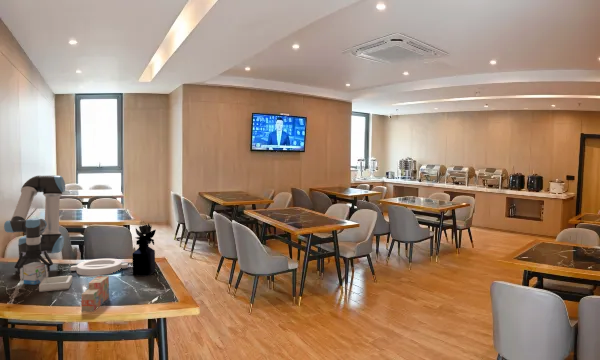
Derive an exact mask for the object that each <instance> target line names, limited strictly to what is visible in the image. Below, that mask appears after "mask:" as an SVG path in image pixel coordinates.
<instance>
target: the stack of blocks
mask: <svg viewBox="0 0 600 360" xmlns="http://www.w3.org/2000/svg"><path fill="white" fill-rule="evenodd" d="M109 298H110V283H109V275H107V276H106V275H105V276H104V275H99V276H96V277H94V278H93V279H92V280H90V281H89V282H88V289H86V290H85V291H83V292H82V293H81V300H80V301H81V303H80V305H81V306H80V307H81V309H80V310H81V312H82V311H87V312H95V311H96V310H97V309H98V308H99V307H100V306H101V305H102V304H104V303H105V302H106V301H107V300H108V299H109ZM97 307H98V308H97ZM96 308H97V309H96ZM95 309H96V310H95ZM94 310H95V311H94Z"/></svg>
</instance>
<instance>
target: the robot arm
mask: <svg viewBox="0 0 600 360" xmlns="http://www.w3.org/2000/svg"><path fill="white" fill-rule="evenodd" d="M65 191H66V183H65V180H64V177H63V176H62V175H35V176H32V177H31V178H29V179H28V180H26V182H25V183H24V184H22V187H21V188H20V196H19V199H18V202H17V204H16V205H15V208H14V212H13V214H12V217H11V218H10V220H5V222H4V225H3V228H4V229H3V230H4V231H5V233H11V234H12V233H13V234H14V233H25V236H22V237H20V238H18V244H17V246H18V259H17V261H16V263H15V265H14V268H15V272H17V273H18V275H19V277H20V278H19V279H20V280H24V276H23V265H27V264H30V263H33V262H40V263H44V264H45V277H46V278H47V277H49V272H50V271H51V266H53V265H54V261H52V258H51V257H50V256H49V254H58V253H59V254H60V253H61V251H62V250H63V248H64V245H65V244H64V243H65V237H64V235H62V232H60V230H59V229H60V199H61V196H63V193H65ZM38 193H42V195H43V196H44V197H45V200H44V201H45V205H44V219H43V218H36V217H33V218H28V219H27V217H28V214H29V211H30V209H31V206H32V204H33V200H34V197H35V196H37V194H38ZM42 231H43V232H42ZM41 232H42V233H41ZM42 255H43V256H44V257H45V258H43V256H42Z"/></svg>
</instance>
